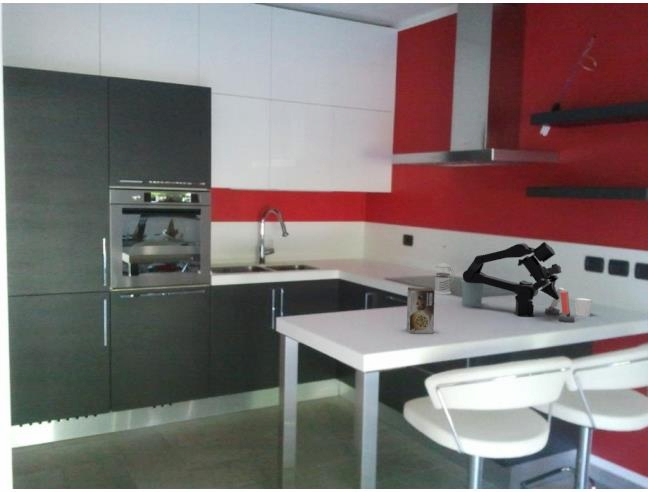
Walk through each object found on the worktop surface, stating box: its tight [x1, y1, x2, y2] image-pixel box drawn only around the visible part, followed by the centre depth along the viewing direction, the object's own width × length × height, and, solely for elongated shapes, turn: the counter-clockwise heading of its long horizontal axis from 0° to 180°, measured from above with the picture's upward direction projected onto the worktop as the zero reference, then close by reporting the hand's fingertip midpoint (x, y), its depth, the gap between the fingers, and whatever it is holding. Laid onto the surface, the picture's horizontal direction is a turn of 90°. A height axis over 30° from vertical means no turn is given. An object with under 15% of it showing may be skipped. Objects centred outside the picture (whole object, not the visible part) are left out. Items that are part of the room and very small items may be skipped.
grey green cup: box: [460, 278, 484, 308], centre depth 278 cm, size 10×10×12 cm
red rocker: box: [560, 291, 571, 315], centre depth 248 cm, size 2×5×10 cm, turn 144°
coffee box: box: [406, 286, 435, 334], centre depth 222 cm, size 9×6×16 cm
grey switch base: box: [544, 305, 561, 316], centre depth 262 cm, size 6×6×4 cm
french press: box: [433, 244, 455, 295], centre depth 312 cm, size 10×12×25 cm
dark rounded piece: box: [557, 312, 575, 323], centre depth 248 cm, size 6×6×4 cm
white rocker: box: [550, 287, 566, 309], centre depth 261 cm, size 2×5×10 cm, turn 144°
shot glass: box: [574, 297, 593, 317], centre depth 261 cm, size 7×7×7 cm
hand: (558, 299), depth 249 cm, fingers closed
